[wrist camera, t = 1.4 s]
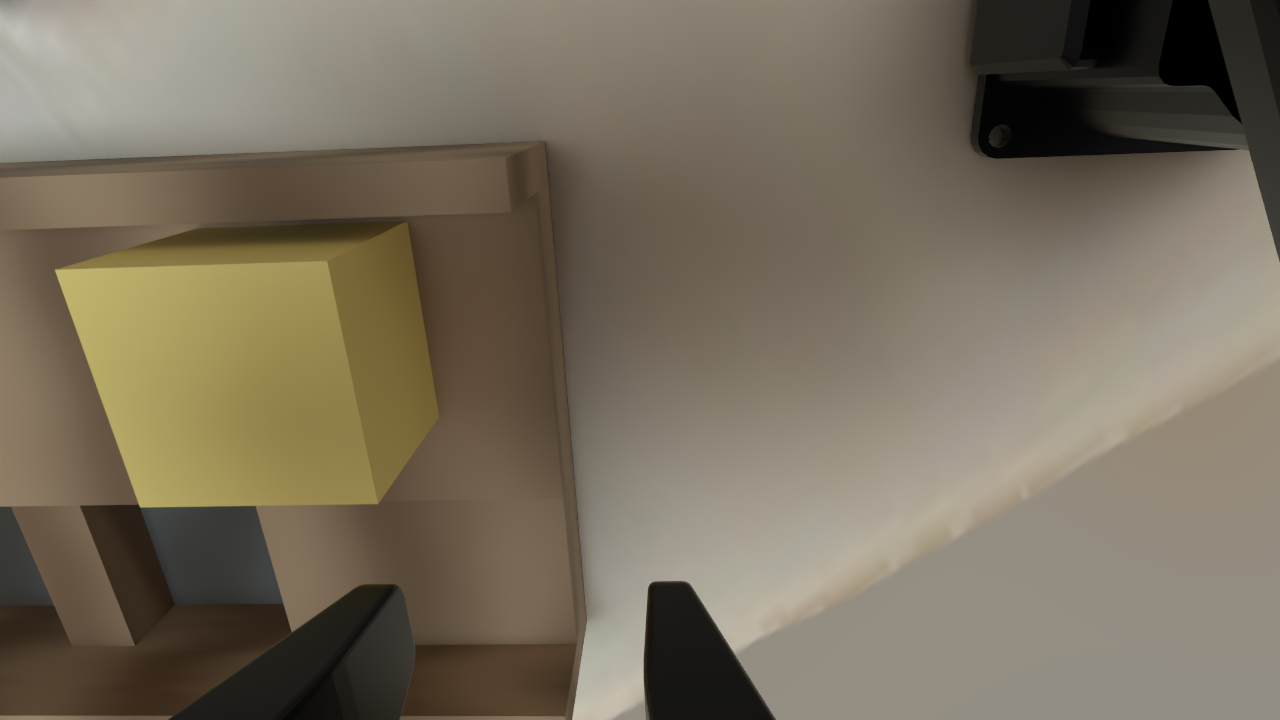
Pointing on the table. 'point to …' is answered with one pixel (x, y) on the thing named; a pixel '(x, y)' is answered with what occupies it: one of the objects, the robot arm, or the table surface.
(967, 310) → the table surface
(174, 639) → the wooden tray
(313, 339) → the block
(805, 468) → the table surface
